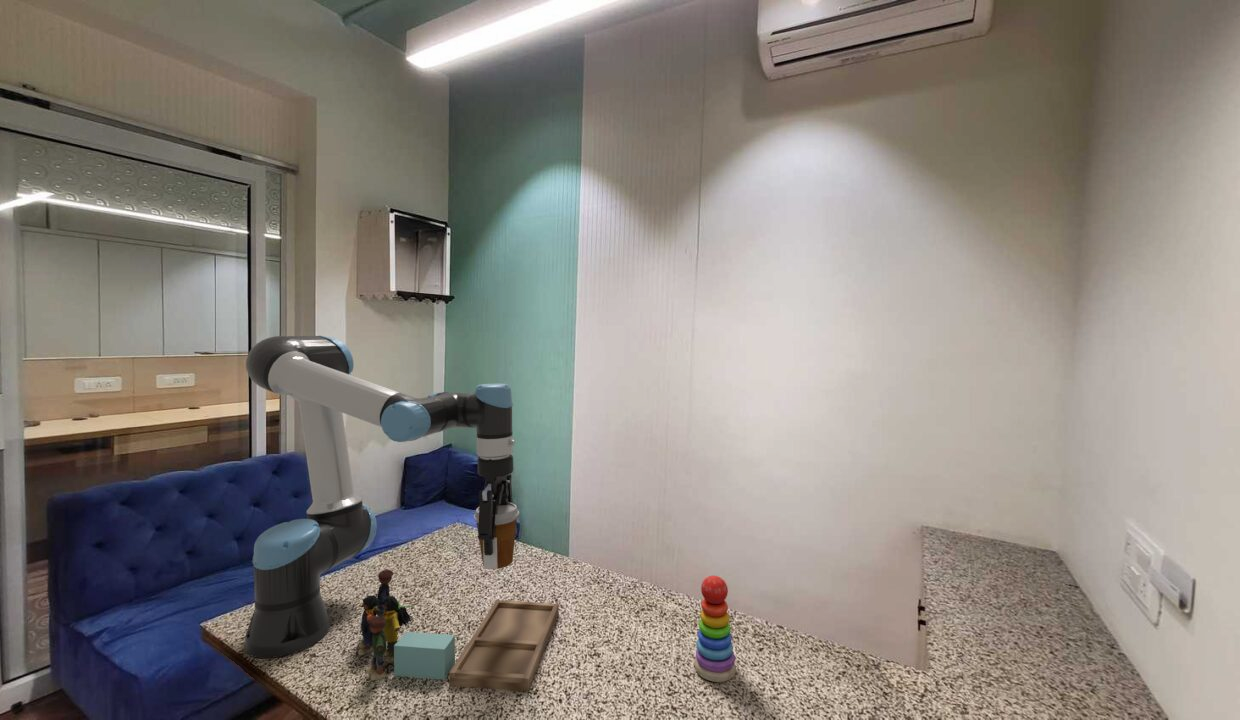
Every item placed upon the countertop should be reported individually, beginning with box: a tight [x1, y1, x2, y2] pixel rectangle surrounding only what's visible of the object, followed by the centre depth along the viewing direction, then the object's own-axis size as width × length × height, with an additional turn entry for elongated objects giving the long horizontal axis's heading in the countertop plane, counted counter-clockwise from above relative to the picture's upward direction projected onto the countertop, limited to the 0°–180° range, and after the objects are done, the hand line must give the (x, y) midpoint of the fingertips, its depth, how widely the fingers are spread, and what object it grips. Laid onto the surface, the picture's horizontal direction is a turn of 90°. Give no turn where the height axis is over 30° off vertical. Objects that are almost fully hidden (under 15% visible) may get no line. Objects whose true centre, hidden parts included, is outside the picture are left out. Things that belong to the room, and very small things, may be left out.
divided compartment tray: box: [448, 599, 560, 693], centre depth 104 cm, size 15×26×2 cm, turn 175°
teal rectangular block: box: [393, 631, 456, 681], centre depth 96 cm, size 10×4×6 cm, turn 85°
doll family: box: [357, 569, 415, 681], centre depth 103 cm, size 23×9×13 cm, turn 41°
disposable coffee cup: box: [473, 502, 520, 570], centre depth 108 cm, size 10×10×12 cm
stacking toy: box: [693, 575, 737, 683], centre depth 97 cm, size 8×8×19 cm
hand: (497, 559), depth 108 cm, fingers closed on disposable coffee cup, 8 cm apart
